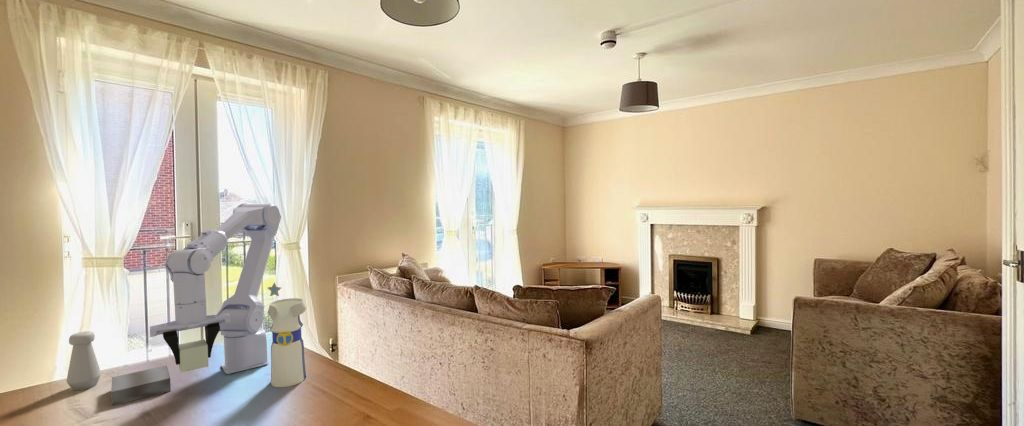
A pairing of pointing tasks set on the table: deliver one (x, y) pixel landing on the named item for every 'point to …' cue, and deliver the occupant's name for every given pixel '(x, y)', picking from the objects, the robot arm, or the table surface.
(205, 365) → the sage block
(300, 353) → the cream belted dress
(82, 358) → the salt shaker
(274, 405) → the table surface
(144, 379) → the gray plinth
